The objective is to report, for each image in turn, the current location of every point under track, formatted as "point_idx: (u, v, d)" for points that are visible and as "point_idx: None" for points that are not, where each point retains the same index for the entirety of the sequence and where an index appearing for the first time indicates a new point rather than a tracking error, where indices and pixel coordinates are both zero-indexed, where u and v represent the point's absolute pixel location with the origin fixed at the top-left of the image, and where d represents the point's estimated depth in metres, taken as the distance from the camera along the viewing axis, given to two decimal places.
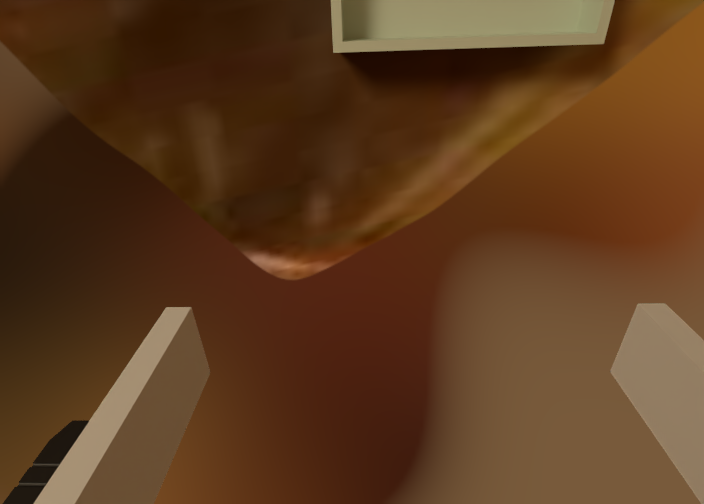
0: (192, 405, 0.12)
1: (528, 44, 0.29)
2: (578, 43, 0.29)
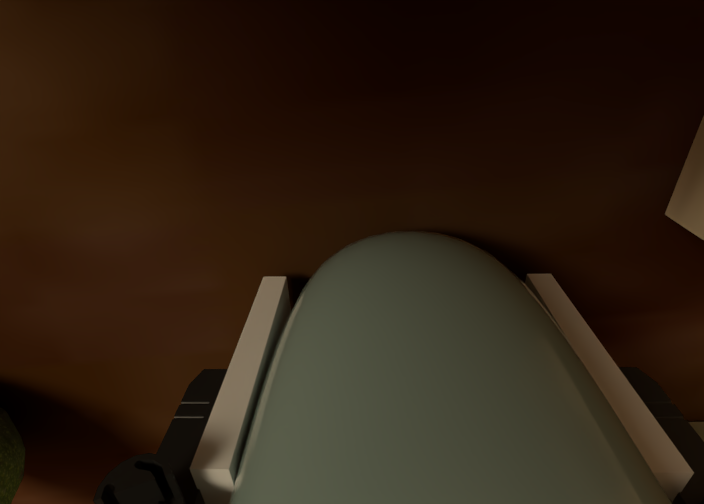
0: None
1: None
2: None
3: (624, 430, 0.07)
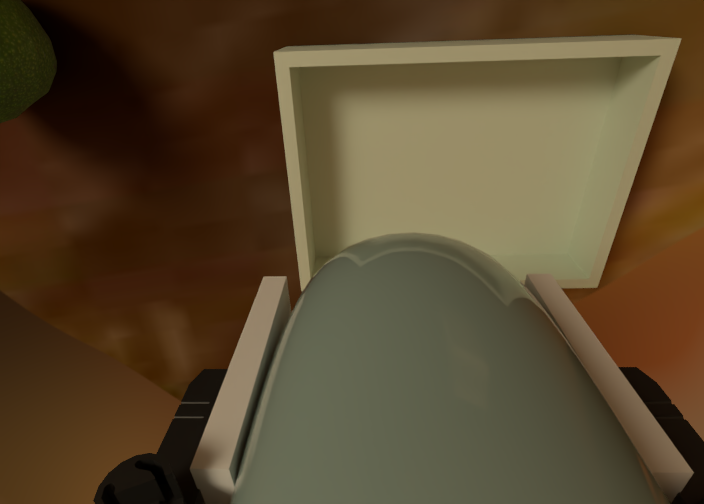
0: None
1: None
2: (569, 287, 0.26)
3: (625, 434, 0.06)
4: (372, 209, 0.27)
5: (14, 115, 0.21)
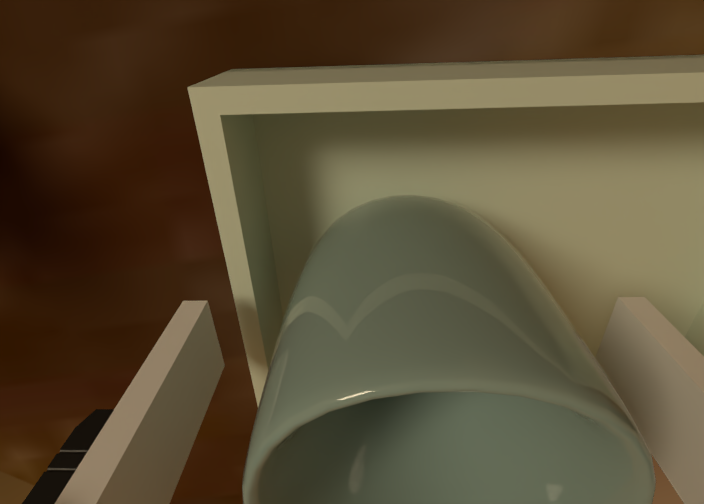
0: (208, 396, 0.12)
1: None
2: None
3: (570, 322, 0.09)
4: None
5: None
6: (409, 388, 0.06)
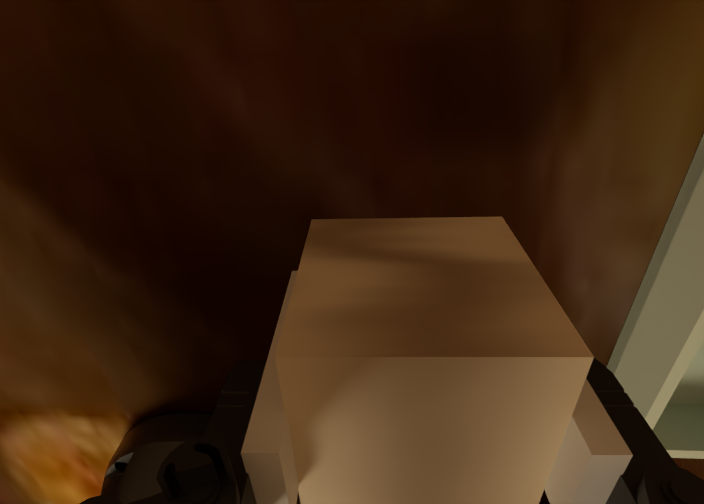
0: None
1: None
2: None
3: None
4: None
5: None
6: None
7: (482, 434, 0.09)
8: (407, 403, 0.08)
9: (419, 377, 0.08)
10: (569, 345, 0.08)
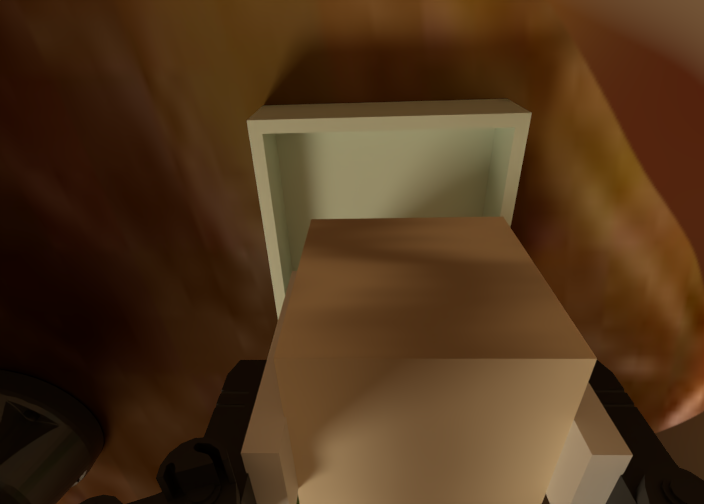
0: None
1: (511, 210, 0.23)
2: (523, 148, 0.21)
3: None
4: None
5: None
6: None
7: (483, 436, 0.09)
8: (407, 405, 0.08)
9: (419, 379, 0.08)
10: (572, 346, 0.08)
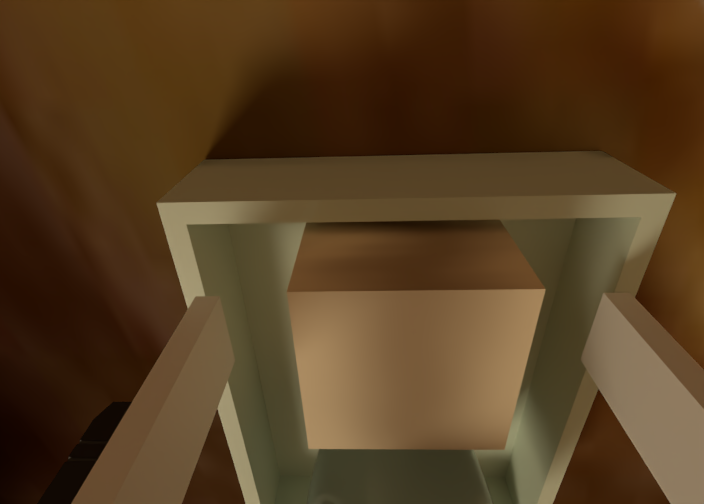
0: (220, 391, 0.12)
1: None
2: (650, 250, 0.12)
3: None
4: None
5: None
6: None
7: (459, 362, 0.11)
8: (396, 333, 0.10)
9: (404, 309, 0.10)
10: (527, 281, 0.10)
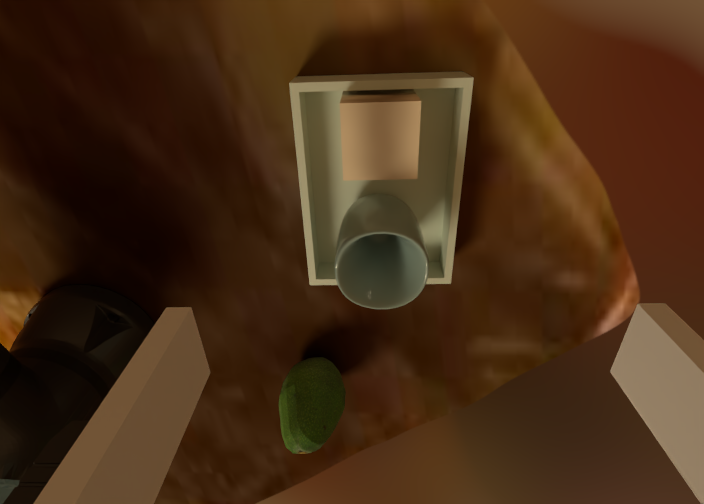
0: (192, 405, 0.12)
1: (464, 146, 0.34)
2: (470, 101, 0.32)
3: (348, 225, 0.33)
4: None
5: (340, 383, 0.48)
6: (336, 280, 0.33)
7: (396, 133, 0.31)
8: (374, 120, 0.30)
9: (377, 110, 0.30)
10: (416, 100, 0.30)
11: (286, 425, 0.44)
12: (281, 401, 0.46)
